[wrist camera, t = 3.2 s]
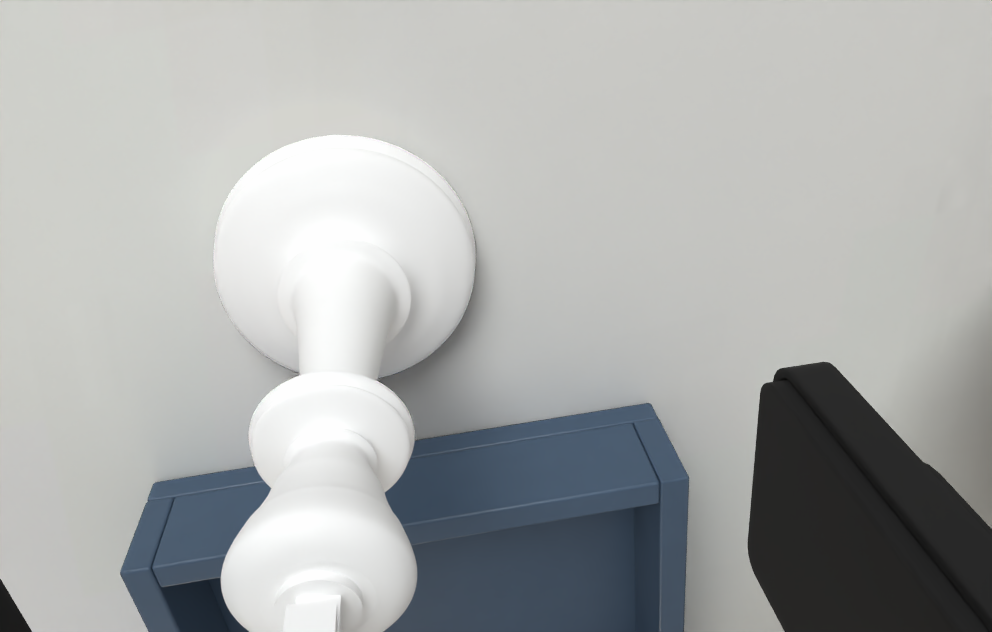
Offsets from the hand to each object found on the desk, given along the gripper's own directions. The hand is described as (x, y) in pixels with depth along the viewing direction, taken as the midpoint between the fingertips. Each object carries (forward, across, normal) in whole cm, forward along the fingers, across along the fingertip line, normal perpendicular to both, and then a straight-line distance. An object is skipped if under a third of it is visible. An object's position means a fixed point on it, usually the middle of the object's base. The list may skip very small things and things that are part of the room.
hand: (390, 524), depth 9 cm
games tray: (+7, 0, +10) cm, 12 cm away
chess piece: (+7, +1, 0) cm, 7 cm away
